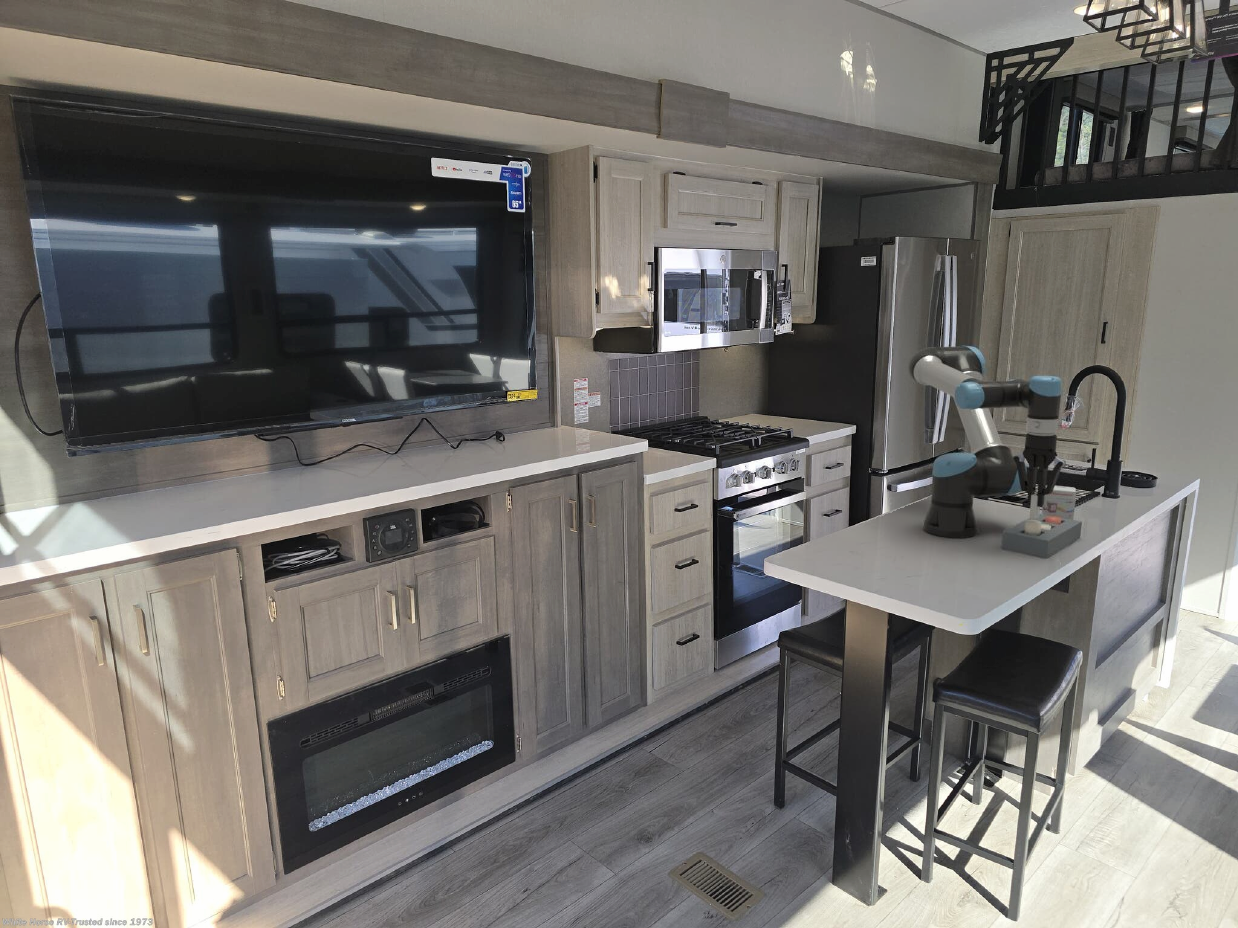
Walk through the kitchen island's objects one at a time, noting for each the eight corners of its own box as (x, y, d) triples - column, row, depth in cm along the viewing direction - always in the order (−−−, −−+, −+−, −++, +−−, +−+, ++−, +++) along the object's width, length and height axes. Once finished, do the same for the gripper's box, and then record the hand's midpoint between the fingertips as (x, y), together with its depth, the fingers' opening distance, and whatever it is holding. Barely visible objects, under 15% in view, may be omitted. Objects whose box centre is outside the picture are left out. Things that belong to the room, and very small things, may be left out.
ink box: (1040, 525, 241) (1044, 488, 239) (1040, 521, 246) (1044, 484, 243) (1072, 528, 237) (1076, 490, 235) (1072, 524, 242) (1076, 487, 239)
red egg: (1056, 536, 226) (1058, 520, 225) (1041, 533, 229) (1043, 517, 228) (1061, 533, 229) (1063, 517, 228) (1047, 530, 232) (1048, 514, 231)
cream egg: (1046, 544, 222) (1047, 528, 221) (1031, 541, 225) (1032, 525, 224) (1051, 541, 224) (1053, 525, 223) (1037, 538, 227) (1038, 522, 226)
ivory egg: (1036, 541, 216) (1038, 524, 215) (1021, 538, 219) (1022, 521, 218) (1042, 538, 219) (1043, 521, 218) (1027, 535, 222) (1028, 518, 221)
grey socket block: (1046, 558, 212) (1048, 540, 211) (1001, 548, 221) (1002, 531, 220) (1080, 537, 228) (1081, 521, 227) (1036, 529, 237) (1038, 513, 236)
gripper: (1010, 432, 215) (1004, 515, 220) (1062, 437, 206) (1054, 524, 210) (1022, 429, 220) (1015, 510, 225) (1072, 434, 210) (1064, 518, 215)
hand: (1034, 517), depth 218 cm, fingers closed
